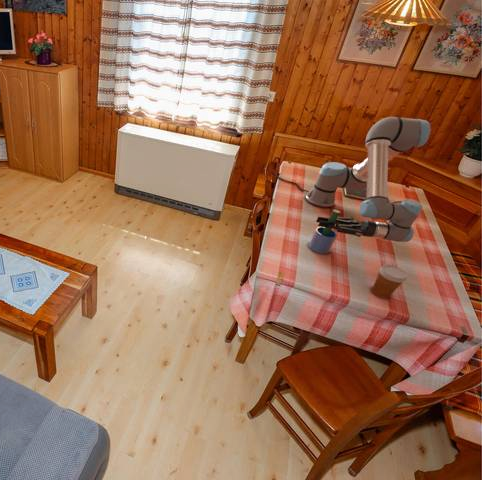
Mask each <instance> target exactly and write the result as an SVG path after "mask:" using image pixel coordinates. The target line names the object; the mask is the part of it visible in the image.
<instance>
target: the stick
mask: <svg viewBox="0 0 482 480" xmlns="http://www.w3.org/2000/svg"><path fill="white" fill-rule="evenodd" d="M340 213H341V211H340V210H338V209H332V211H331V213H330V215H329V217H328V218H329V220H328V222H333V223H335V222H336V220H337V218H338V217H340V216H339V215H340ZM331 230H333V228H326V227H325V228H324V230H323V232H322V235H324V236H327V237H328V236H329V234H330V232H331Z"/></svg>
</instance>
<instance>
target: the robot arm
mask: <svg viewBox="0 0 482 480" xmlns="http://www.w3.org/2000/svg"><path fill="white" fill-rule="evenodd" d="M430 134H431V124H430V122H429V121H428V120H425V119H420V118H411V117H410V118H408V117H397V116H387V117H383V118H381V119H380V120H378V121H377V122H375V124H373V125H372V126H371V127H370V129H369V130H368V132H367V134H366V137H365V143H364V147H365V148H366V149H367V157H366V158H365V159H364V160H363V161H362V162H358V163H356V164H355V165H353V167H352V166H351V167H349V166H348V167H347V165H346V164H344V163H342V162H337V161H336V162H335V161H329V162H326V163H324V164H322V167H321V168H320V170H319V172H318V175H317V178H316V180H315V181H314V182H315V183H314V185H313V187H312V188H311V189H310V190H306V189H304V188H301V186H300V184H299V183H297V182H294V181H290V180H286V179H284V178H282V177H280V176H279V175H278V174H277V172H276V171H275V172H273V173H274V175H275V176H276V178H277V179H279V180H281V181H282V182H283V181H284V182H286V183H289V184H294V185H296V186H297V187H298V189H299V190H300V191H303V192H306V193H307V194H306V195H305V200H306V201H307V202H308V203H310V204H311V205H313V206H315V207H319V208H326V209H327V208H332V207H333V206H334V205H335V201H336V193H337V190H338V189H343V188H346V189H354V190H367V195H366V200H362V201H361V203H360V205H359V208H358V212H359V215H360V216H361V217H362V218H367V219H364V220H363V221H358V220H355V218H354V217H353V216H352V217H346V216H338V218H337V220H336V222H335V223H333V222H328V220H329V217H326V216H325V217H324V216H317V218H316V221H315V222H316V223H318V224H317V225H318V227H326V228H332V230H334V231H336V233H340V234H345V235H346V234H347V235H351V236H356V237H358V238H360V237H365V238H373V239H380V240H385V241H393V242H399V243H408V242H410V241H411V240H412V239H413V237H414V234H415V230H414V228H413V227H412V225H413V224H414V223H415V221H416V220H417V218H418V217H419V216H420V214H421V212H422V210H423V205H422V204H421V203H420V202H419V201H417V200H413V199H404V200H402V201H403V202H402V203H401V204H393V202H388V203H387V197H388V175H389V174H388V173H389V171H388V170H389V169H388V168H389V162H391V161H392V160H393V159H394V158H395V157H397V156H398V155H400V153H402V154H403V153H406V152H408V151H409V150H410V149H411V148H413V147H416V148H419V147H423V146H424V145H425V144H426V143H427V141H428V140H429V137H430ZM369 219H370V220H369ZM371 219H373V220H371ZM374 219H375V220H374ZM377 220H382V221H383V220H384V221H389V222H390V221H391V222H390V223H389V222H382V221H377Z"/></svg>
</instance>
